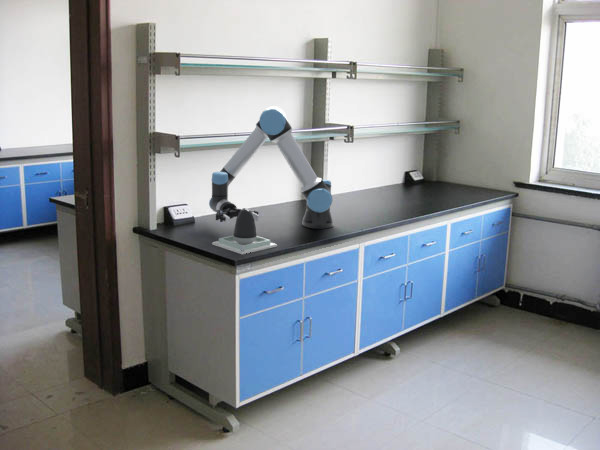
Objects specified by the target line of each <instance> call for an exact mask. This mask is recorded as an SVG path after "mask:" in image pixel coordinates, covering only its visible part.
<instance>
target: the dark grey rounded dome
mask: <svg viewBox="0 0 600 450" xmlns="http://www.w3.org/2000/svg"><path fill="white" fill-rule="evenodd" d="M242 209H243V208H242ZM247 209H248V208H245V209H243V210H241V211H240V213H239V214H238V216H237V217H236V219H235V222H234V227H233V234H232V236H234V238H235V240H236V242H237V243H239V244H242V245H247V244H251V243H253V242H254V241H255V239H256V236H258V232H257V231H258V230H257V226H256V225H257V224H256V220H254V217H253V215H252V213H251V212H250V211H249V210H250V209H248V210H247Z"/></svg>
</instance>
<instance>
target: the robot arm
mask: <svg viewBox="0 0 600 450" xmlns="http://www.w3.org/2000/svg"><path fill="white" fill-rule="evenodd" d="M292 131H293V127H292V125H291V123H290V122H289V121H288V119H287V116H286V113H285V111H284V110H283V109H282V108H280V107H278V106H275V105H274V106H269V107H267V108H266V109H265V110H264V111H262V113H261V114H260V117H259V119H258V121H257V123H256V124H255V128H254V129H253V131H252V132H251V133H250V134H249V135H248V137H247V138H246V139H245V140H244V142H243V143H242V144H241V146H240V147H239V148H237V150H236V151H235V152H234V154H233V155H232V156H231V158H230V159H229V160H228V161H227V163H225V165H224V166H223V167H222V169H221V170H220V171H215V172H212V174H211V197H210V199H209V202H208V205H209V208H210V210H212V211H213V212H215V221H219V222H220V223H222V222H225V223H226V224H228V225H230V224H231V219H234V218H237V216H238V214H239V213H240V211H241V210H243V209H247V210H249V211H250V212H251V213H252V215H253V217H254V220H255V222H258V223H259V222H260V215H259V211H258V210H257V211H256V210H252V209H248V208H237V206H236V204H234V203H233V202H231V201H229V198H228V197H229V196H228V195H229V186H230V185H231V183H232V182H233V180H234V179H236V177H237V176H238V175H239V173H240V172H241V171H242V170H243V169H244V168H245V166H246V165H247V164H248V162H249V161H250V160H251V159H252V158H253V157H254V155H255V154H256V153H257V152H258V150H259V149H261V148H262V146H263V145H264V144H265V142H266V141H267V140H268V139H269V141H270V142H271V143H275V145H276V146H277V148H278V149H279V152H280V153H281V155H282V156H283V158H284V160H285V162H286V163H287V164H288V166H289V168H290V170H291V171H292V173H293V174H294V176H295V178H296V179H297V181H298V183H299V184H300V187H301V189H300V192H301V193H302V195H303V198H304V199H305V201H306V209H305V213H304V215H303V218H302V223H301V224H302V226H303V227H304V228H309V229H317V230H320V229H321V230H322V229H323V230H324V229H329V228H332V227H333V226H334V220H333V218H332V214H331V213H332V212H331V206H332V204H333V195H332V182H331V180H328V179H323V178H322V177H318V176H317V174H316V173H315V171H314V169H313V168H312V166H311V164H310V163H309V161H308V159H307V157H306V155H305V154H304V152H303V150H302V149H301V147H300V146H299V143H298V142H297V140H296V139H295V137H294V136H293V134H292Z"/></svg>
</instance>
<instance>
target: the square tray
mask: <svg viewBox="0 0 600 450" xmlns="http://www.w3.org/2000/svg"><path fill="white" fill-rule="evenodd" d="M211 245H212V246H216V247H217V248H218V247H219V248H222V249H224V250H228V251H231V252H234V253H237V254H240V255H247V254H249V253H250V252H251V253H255V252H259V251H263V250H264V251H265V250H268V249H271V248H276V247H278V244H277V243H275V242H272V241H271V239H268V238H265V237H262V236H259V235H257V236H256V239H255V241H254V242H253V243H251V244H247V245H242V244H239V243H237V242H236V240H235V238H234V236H233V235H229V236H224V237H220V238H218V240H216V241H213V242H212V243H211ZM246 253H247V254H246ZM251 253H250V254H251Z"/></svg>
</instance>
